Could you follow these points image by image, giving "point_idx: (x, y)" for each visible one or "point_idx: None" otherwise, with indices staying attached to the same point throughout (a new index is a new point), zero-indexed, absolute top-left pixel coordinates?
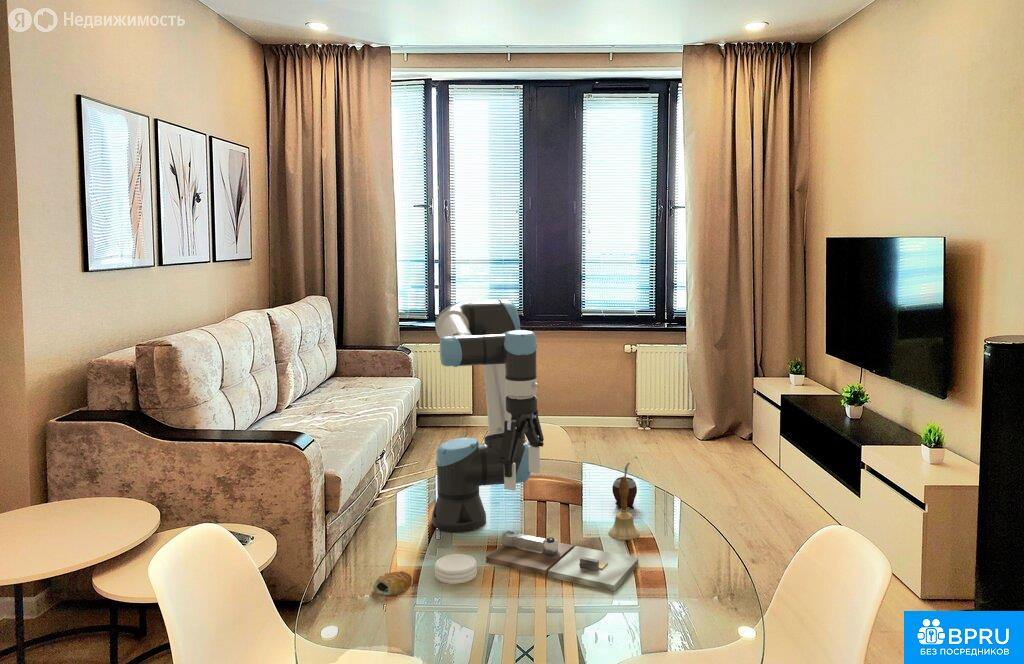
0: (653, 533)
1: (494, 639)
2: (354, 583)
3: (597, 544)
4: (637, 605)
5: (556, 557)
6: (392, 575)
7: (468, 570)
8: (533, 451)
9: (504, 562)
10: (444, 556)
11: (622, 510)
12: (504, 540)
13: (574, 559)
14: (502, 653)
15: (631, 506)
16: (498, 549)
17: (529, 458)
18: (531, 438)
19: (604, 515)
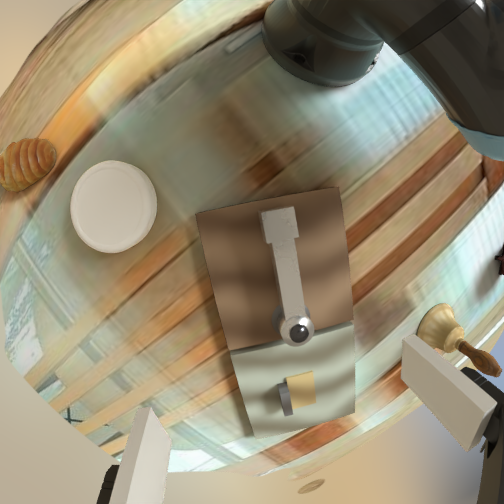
0: None
1: (53, 384)
2: (15, 107)
3: (389, 325)
4: (241, 459)
5: None
6: (11, 165)
7: (104, 252)
8: (462, 419)
9: (206, 261)
10: (110, 166)
11: (457, 346)
12: (260, 219)
13: (300, 359)
14: (49, 402)
15: (501, 272)
16: (245, 209)
17: (442, 377)
18: (488, 490)
19: (476, 256)
